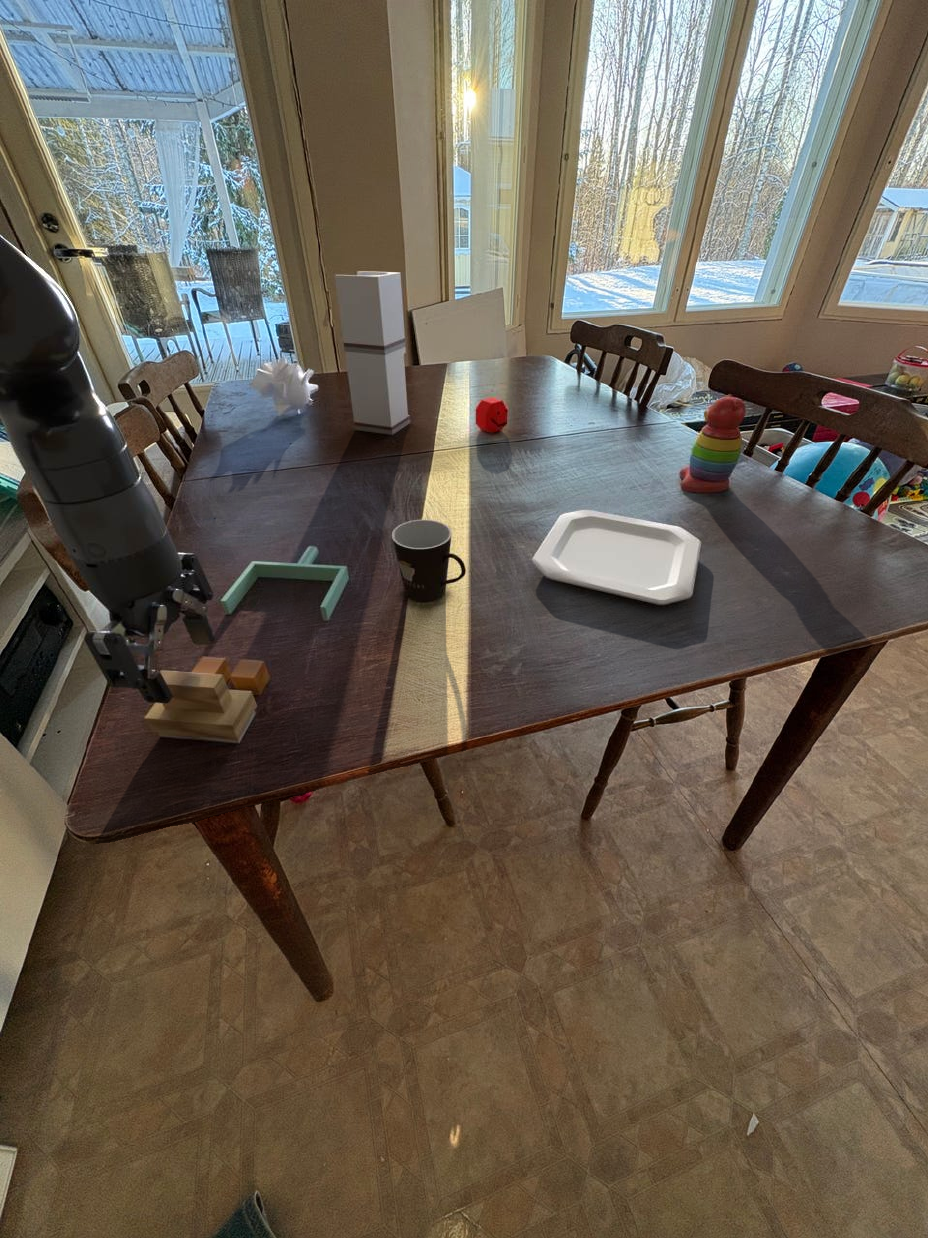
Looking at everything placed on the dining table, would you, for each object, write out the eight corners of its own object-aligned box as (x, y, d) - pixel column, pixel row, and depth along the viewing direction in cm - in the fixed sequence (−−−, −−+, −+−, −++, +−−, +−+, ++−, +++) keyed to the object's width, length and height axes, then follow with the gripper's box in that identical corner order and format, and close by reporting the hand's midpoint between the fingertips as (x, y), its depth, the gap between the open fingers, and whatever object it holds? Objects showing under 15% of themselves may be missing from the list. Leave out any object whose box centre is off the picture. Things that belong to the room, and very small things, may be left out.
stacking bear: (678, 471, 116) (700, 387, 105) (726, 476, 113) (754, 391, 102) (680, 491, 108) (704, 402, 96) (731, 496, 105) (763, 407, 94)
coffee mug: (390, 582, 81) (383, 526, 75) (440, 570, 84) (437, 515, 78) (416, 624, 73) (411, 565, 67) (470, 608, 76) (470, 550, 70)
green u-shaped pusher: (328, 621, 74) (325, 607, 72) (225, 614, 75) (220, 600, 74) (358, 559, 87) (356, 546, 85) (270, 554, 88) (267, 542, 87)
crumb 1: (221, 692, 63) (213, 675, 61) (198, 690, 63) (189, 673, 61) (232, 675, 65) (225, 658, 63) (209, 673, 66) (202, 656, 64)
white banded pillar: (410, 422, 143) (400, 272, 121) (392, 434, 135) (377, 276, 114) (375, 418, 146) (358, 270, 125) (355, 429, 139) (334, 274, 117)
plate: (523, 581, 82) (524, 569, 80) (564, 515, 99) (566, 504, 98) (686, 620, 74) (690, 608, 72) (700, 541, 91) (703, 530, 90)
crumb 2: (260, 695, 63) (253, 678, 61) (236, 693, 63) (229, 676, 61) (269, 678, 65) (264, 660, 63) (247, 676, 65) (240, 659, 63)
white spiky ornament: (310, 373, 136) (263, 333, 133) (278, 426, 142) (233, 389, 140) (336, 376, 154) (295, 341, 152) (306, 423, 160) (267, 390, 158)
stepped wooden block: (259, 711, 61) (242, 665, 56) (240, 746, 57) (220, 699, 52) (179, 705, 61) (155, 659, 57) (155, 738, 57) (128, 692, 53)
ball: (490, 436, 134) (491, 406, 129) (470, 429, 138) (470, 399, 134) (512, 430, 138) (513, 400, 133) (491, 422, 143) (492, 394, 138)
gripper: (126, 495, 49) (186, 624, 60) (10, 579, 38) (108, 720, 49) (200, 498, 49) (247, 628, 59) (103, 584, 38) (182, 726, 48)
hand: (184, 669), depth 54 cm, fingers open, 8 cm apart
